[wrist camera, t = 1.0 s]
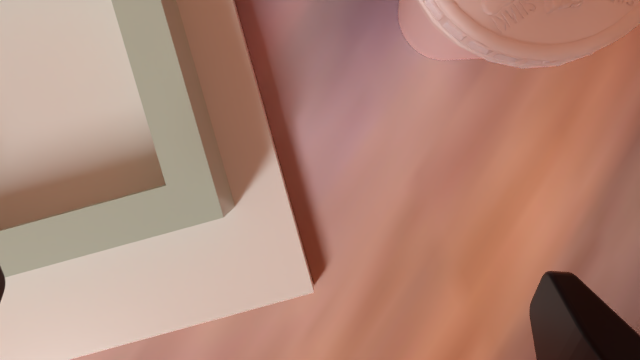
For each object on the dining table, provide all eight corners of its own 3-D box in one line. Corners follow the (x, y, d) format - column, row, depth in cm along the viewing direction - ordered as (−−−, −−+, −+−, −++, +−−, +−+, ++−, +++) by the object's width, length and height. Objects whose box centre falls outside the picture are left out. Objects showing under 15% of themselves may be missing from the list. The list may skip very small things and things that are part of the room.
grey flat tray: (313, 285, 23) (315, 317, 19) (-71, 391, 23) (-151, 444, 19) (172, -221, 21) (141, -303, 17) (-240, -108, 21) (-367, -165, 17)
